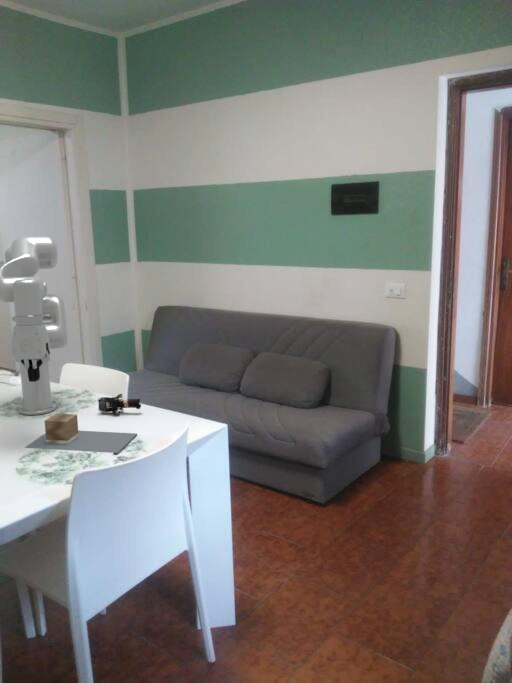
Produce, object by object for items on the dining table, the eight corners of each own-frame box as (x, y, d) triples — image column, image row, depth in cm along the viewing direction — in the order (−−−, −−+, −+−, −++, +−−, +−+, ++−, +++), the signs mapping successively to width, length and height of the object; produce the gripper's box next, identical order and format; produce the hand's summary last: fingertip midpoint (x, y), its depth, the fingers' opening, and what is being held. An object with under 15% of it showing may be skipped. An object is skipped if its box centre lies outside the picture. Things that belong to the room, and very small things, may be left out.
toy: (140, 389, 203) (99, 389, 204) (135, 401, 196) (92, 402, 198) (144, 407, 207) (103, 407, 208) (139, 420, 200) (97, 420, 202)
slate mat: (24, 449, 170) (24, 447, 170) (51, 430, 186) (51, 429, 186) (117, 454, 166) (117, 452, 166) (137, 435, 181) (137, 433, 181)
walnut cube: (46, 442, 174) (44, 420, 172) (57, 434, 181) (56, 413, 179) (68, 443, 173) (66, 421, 171) (78, 435, 180) (77, 414, 178)
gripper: (-2, 322, 168) (4, 383, 172) (46, 322, 166) (51, 384, 169) (13, 318, 176) (18, 377, 179) (59, 319, 173) (63, 378, 176)
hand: (34, 380), depth 174 cm, fingers closed
